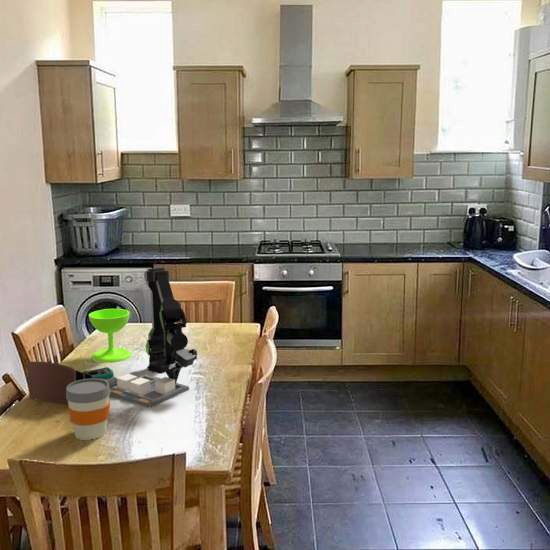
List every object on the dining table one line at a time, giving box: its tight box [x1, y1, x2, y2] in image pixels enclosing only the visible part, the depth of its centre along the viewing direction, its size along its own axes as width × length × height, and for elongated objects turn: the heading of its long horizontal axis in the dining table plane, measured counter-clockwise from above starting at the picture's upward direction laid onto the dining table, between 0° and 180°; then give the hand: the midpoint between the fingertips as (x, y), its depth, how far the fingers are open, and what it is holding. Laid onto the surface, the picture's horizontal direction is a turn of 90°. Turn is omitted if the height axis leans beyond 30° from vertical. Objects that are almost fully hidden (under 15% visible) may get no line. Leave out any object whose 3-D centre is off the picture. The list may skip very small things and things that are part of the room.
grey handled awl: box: [107, 376, 118, 389], centre depth 215 cm, size 14×3×3 cm
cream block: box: [130, 377, 151, 395], centre depth 210 cm, size 5×5×4 cm
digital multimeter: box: [83, 366, 115, 380], centre depth 227 cm, size 7×15×3 cm, turn 120°
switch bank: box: [109, 374, 190, 408], centre depth 214 cm, size 19×20×2 cm
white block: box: [116, 373, 138, 391], centre depth 214 cm, size 5×5×4 cm
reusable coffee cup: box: [66, 378, 111, 441], centre depth 182 cm, size 13×12×15 cm
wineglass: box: [88, 308, 132, 363], centre depth 250 cm, size 16×16×18 cm
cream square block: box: [155, 376, 175, 395], centre depth 211 cm, size 5×5×4 cm
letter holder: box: [27, 361, 93, 406], centre depth 208 cm, size 10×20×14 cm, turn 69°
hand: (174, 384), depth 215 cm, fingers closed
